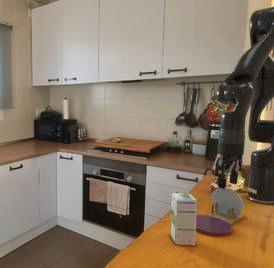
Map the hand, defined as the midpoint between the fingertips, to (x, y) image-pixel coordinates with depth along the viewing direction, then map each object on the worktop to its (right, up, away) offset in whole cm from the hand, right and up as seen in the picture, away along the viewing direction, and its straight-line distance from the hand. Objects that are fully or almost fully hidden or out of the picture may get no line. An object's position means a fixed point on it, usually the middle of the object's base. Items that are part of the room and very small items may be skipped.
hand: (227, 185), depth 97 cm
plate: (0, -6, +1) cm, 6 cm away
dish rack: (0, -12, +2) cm, 12 cm away
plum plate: (-10, -13, -4) cm, 17 cm away
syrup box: (-23, -15, -12) cm, 30 cm away
